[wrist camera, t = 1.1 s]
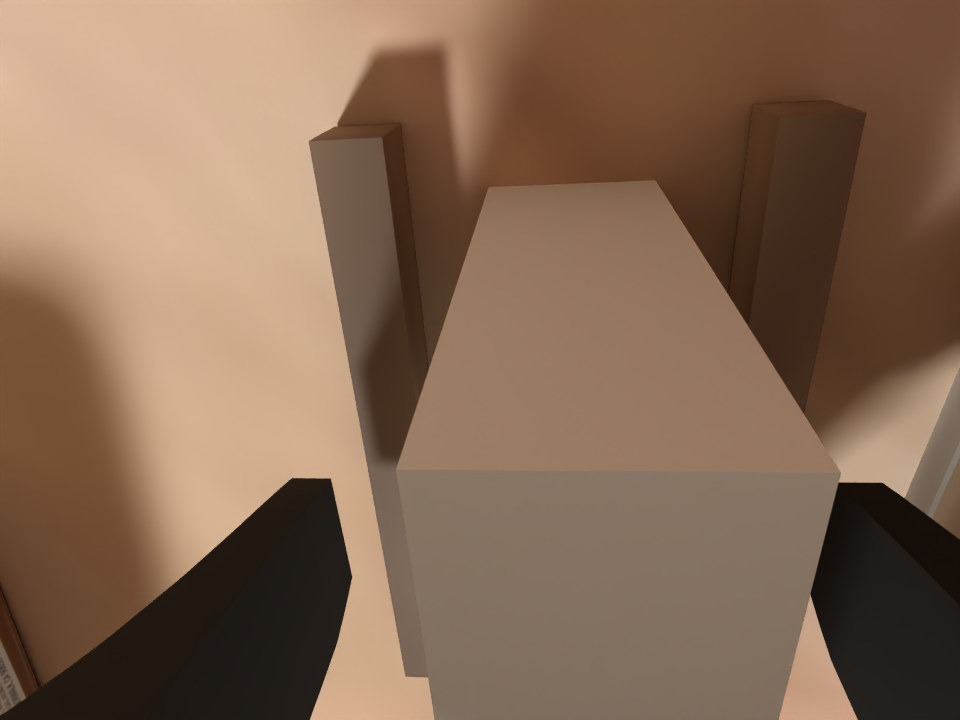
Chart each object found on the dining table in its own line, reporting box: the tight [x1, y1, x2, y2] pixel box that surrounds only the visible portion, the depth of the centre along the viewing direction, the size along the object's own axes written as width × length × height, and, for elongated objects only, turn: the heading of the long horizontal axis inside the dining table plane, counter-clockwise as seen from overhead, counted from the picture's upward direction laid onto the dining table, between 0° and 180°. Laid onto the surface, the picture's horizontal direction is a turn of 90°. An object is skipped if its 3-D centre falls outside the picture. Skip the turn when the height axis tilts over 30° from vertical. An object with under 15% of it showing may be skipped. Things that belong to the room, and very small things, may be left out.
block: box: [396, 180, 841, 720], centre depth 9 cm, size 2×9×7 cm, turn 3°
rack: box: [309, 100, 866, 677], centre depth 11 cm, size 15×11×1 cm
